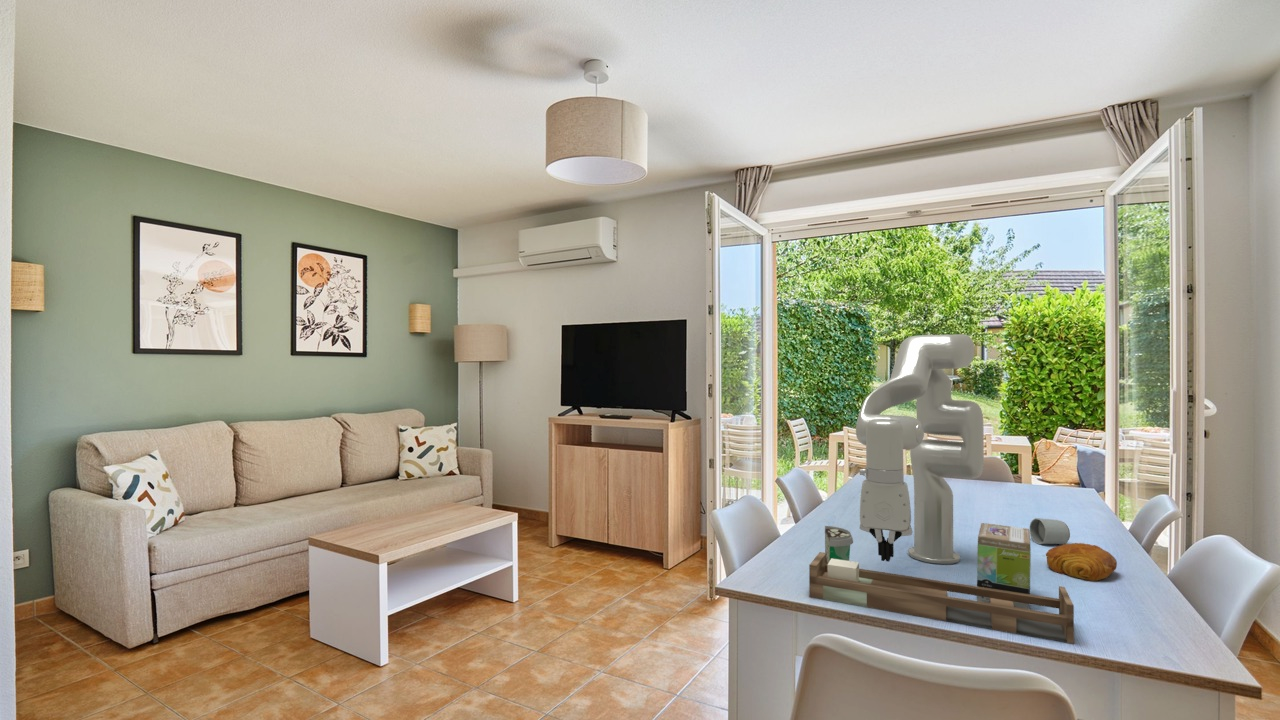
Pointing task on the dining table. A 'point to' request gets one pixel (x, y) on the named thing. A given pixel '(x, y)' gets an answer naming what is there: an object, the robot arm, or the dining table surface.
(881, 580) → the wooden rack
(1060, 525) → the ceramic mug
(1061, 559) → the swirled bread bun
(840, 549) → the food container
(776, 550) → the dining table surface
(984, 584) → the tea box
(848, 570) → the block
